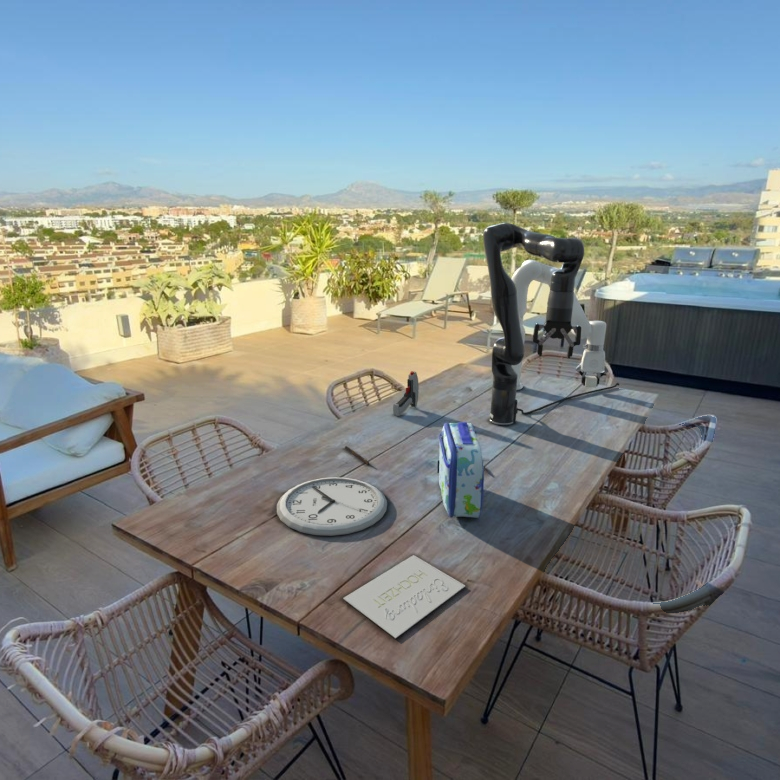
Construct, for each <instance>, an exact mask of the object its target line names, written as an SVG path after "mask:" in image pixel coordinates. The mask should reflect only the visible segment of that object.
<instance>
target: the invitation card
mask: <svg viewBox="0 0 780 780" xmlns="http://www.w3.org/2000/svg"><path fill="white" fill-rule="evenodd" d="M465 587H466V585H465V584H463V582H460V581H459V580H457V579H455V578H453V577H452V576H450V575H448V574H446V573H445V572H444V571H442V570H440V569H438V568H437V567H435V566H434V565H431V564H430V563H428V562H426V561H425V560H423V559H421V558H420V557H418V556H416V555H414V554H413V555H410V556H409V557H408V558H406V559H404V560H403V561H401V562H399V563H398V564H395V566H393V567H391V568H390V569H388V570H386V571H385V572H383V573H382V574H380V575H378V576H377V577H374V579H372V580H370V581H369V582H367V583H365V584H364V585H362V586H360V587H359V588H357V589H356V590H353V591H352V592H351V593H349V594H347V595H346V596H344V597H343V600H344V601H345V602H346V603H348V604H349V605H350V606H352V607H353V608H354V609H356V610H357V611H358V612H360V614H362V615H364V616H365V617H366V618H368V619H369V620H370V621H372V622H373V623H374V624H375V625H377V626H378V627H379V628H381V629H382V630H383V631H385V632H386V633H387V634H389V635H390V636H391V637H393V638H394V639H397V638H398V637H400V636H401V635H403V634H404V633H405V632H406V631H408V630H409V629H411V628H412V627H413V626H414V625H416V624H417V623H418V622H420V621H421V620H422V619H424V618H425V617H426V616H428V615H429V614H430V613H432V612H433V611H435V610H436V609H438V608H439V607H440V606H441V605H442V604H444V603H445V602H447V601H448V600H449V599H451V598H453V597H454V596H455V595H456V594H457V593H459V592H460V591H462V590H463V589H464V588H465Z"/></svg>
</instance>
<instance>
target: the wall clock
mask: <svg viewBox="0 0 780 780" xmlns="http://www.w3.org/2000/svg"><path fill="white" fill-rule="evenodd" d="M387 509H388V500H387V498H386V496H385V494H384V493H383V492H382V491H381V490H380V489H379V488H377V487H376V486H374V485H372V484H371V483H369V482H365V481H362V480H359V479H355V478H349V477H338V476H337V477H335V476H333V477H332V476H331V477H322V478H317V479H312V480H307V481H305V482H302V483H299V484H297V485H295V486H293V487H292V488H290V489H288V490H287V491H286V492H285V493H284V494H283V495H281V496H280V498H279V499H278V502H277V503H276V515H277V517H278V518H279V520H280V521H281V522H282V523H283V524H285V525H286V526H287V527H288V528H290V529H293V530H295V531H297V532H299V533H303V534H308V535H312V536H327V537H328V536H329V537H331V536H332V537H333V536H342V535H350V534H352V533H356V532H361V531H363V530H366V529H368V528H369V527H372V526H373V525H375V524H376V523H378V522H379V521H380V520H381V519H382V518H383V517H384V516H385V514H386V512H387Z"/></svg>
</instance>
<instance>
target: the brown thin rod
mask: <svg viewBox="0 0 780 780" xmlns="http://www.w3.org/2000/svg"><path fill="white" fill-rule="evenodd" d="M344 449H345V450H346V451H348V452H349V453H350V454H352V455H353V456H355V457H356V458H358V459H359V460H361V461H362V462H363V463H364V464H366V465H370V461H368V460H367V459H366V458H364V457H363V456H361V455H360V454H358V453H357V452H356V451H354V450H353V449H352V448H350V447H348V446H347V445H345V446H344Z"/></svg>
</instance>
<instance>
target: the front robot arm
mask: <svg viewBox="0 0 780 780" xmlns="http://www.w3.org/2000/svg"><path fill="white" fill-rule="evenodd" d="M482 245H483V251H484V256H485V260H486V261H485V262H486V265H487V271H488V278H489V279H488V280H489V287H490V299H491V308H492V310H493V313H494V315H495V316H496V319H497V321H498V323H499V325H500V327H501V329H502V333H503V337H499V338H498V339H497V340H496V341H495V342H494V344H493V345H492V350H491V373H492V388H491V399H490V410H489V411H490V413H489V422H490V423H491V424H494V425H497V426H511V425H513V424H516V423H517V414H518V411H519V412H521V414H522V415H524V416H525V415H529V414H530V415H531V414H532V413H535V412H538V411H540V410H544V409H545V408H547V407H550V406H553V405H555V404H558V403H561V402H563V401H567V400H570V399H573V398H576V397H581V396H584V395H585V396H586V395H588V394H593V393H596V392H601V391H604V390H610V389H614V388H616V387H617V386H620V383H619V382H616V383H615V385H612V386H608V387H603V388H598V389H595V390H590V391H585V392H582V393H578V394H574V395H570V396H567V397H564V398H561V399H557V400H555V401H553V402H550V403H548V404H546V405H543V406H540V407H538V408H535V409H532V410H530V411H527V412H524V410H523V409H521V408H518V399H517V390H516V389H517V379H518V375H517V373H516V372H515V370H514V369H513V367H512V365H518V364H519V363H520V362H521V361H522V362H523V359H524V357H525V343H524V344H523V339H522V334H521V329H520V321H519V312H518V298H517V288H516V285H515V283H514V282H513V280H512V279H511V278H512V277H511V276H510V275H509V274H508V273H507V271H506V270H505V268H504V266H503V261H502V254H501V253H502V252H505V251H509V250H511V249H515V248H516V249H517V248H520V249H523V250H524V251H525V252H526V253H527V254H528V255H531V256H533V257H538V258H544V259H545V260H547V261H549V262H553V263H561V264H562V265H561V268H559V269H560V270H558V271H555V272H553V274H552V276H551V285H550V287H549V293H548V298H547V303H546V305H547V306H546V314H545V322H544V323H539V322H535V323H534V327H533V333H532V339H531V340H532V343H534V344H537V350H536V354H537V355H538V357H541V358H542V357H543V349H544V343H545V342H547V340H549V338H550V339H553V340H554V339H559V340H563V339H565V341H566V342H567V343H568V345H567V350H566V359H571V358H572V357H573V353H574V347H575V346H580V345H581V340H582V339H581V326H580V325H577V326H572V325H571V318H572V310H573V302H574V293H575V285H576V277H577V275H578V273H579V270H580V268H581V265H582V262H583V260H584V257H585V245H584V242H583V241H582V240H581V239H579V238H576V237H555V236H554V235H551V234H547V233H541V232H534V231H530V230H527V229H525V228H522V227H520V226H518V225H516V224H513V223H510V222H503V223H498V224H495V225H490V226H488V227H486V228H485V229H484V230H483V233H482ZM542 329H544V331H545V333H544V334H543V335H542V336H541V337H540V338H539V339H538V337H539V332H541V331H542ZM572 329H573V330H574V332H575V333H576V336H575V335H574V336H575V337H574V338H575V339H574V340H572V339H571V337H570V336H569V334H570V332H571V330H572Z"/></svg>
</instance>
